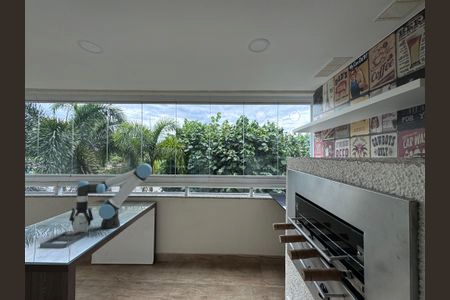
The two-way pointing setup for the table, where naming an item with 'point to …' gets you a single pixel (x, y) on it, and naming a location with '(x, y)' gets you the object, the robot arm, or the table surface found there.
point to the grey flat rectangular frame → (61, 238)
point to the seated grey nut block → (71, 234)
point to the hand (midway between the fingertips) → (80, 229)
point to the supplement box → (80, 223)
